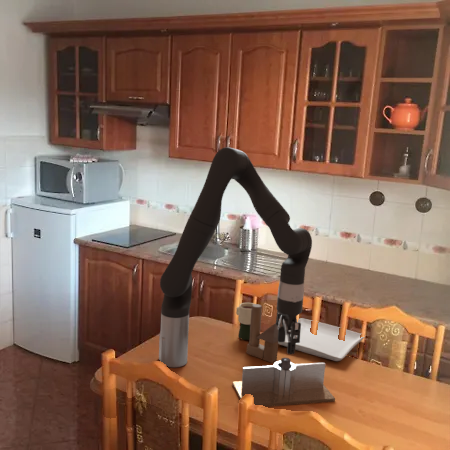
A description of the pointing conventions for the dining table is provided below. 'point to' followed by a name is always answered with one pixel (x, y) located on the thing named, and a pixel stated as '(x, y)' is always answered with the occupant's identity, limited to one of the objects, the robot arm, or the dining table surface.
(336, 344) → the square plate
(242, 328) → the character mug
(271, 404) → the hinge stand
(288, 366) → the hinge pin
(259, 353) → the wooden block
